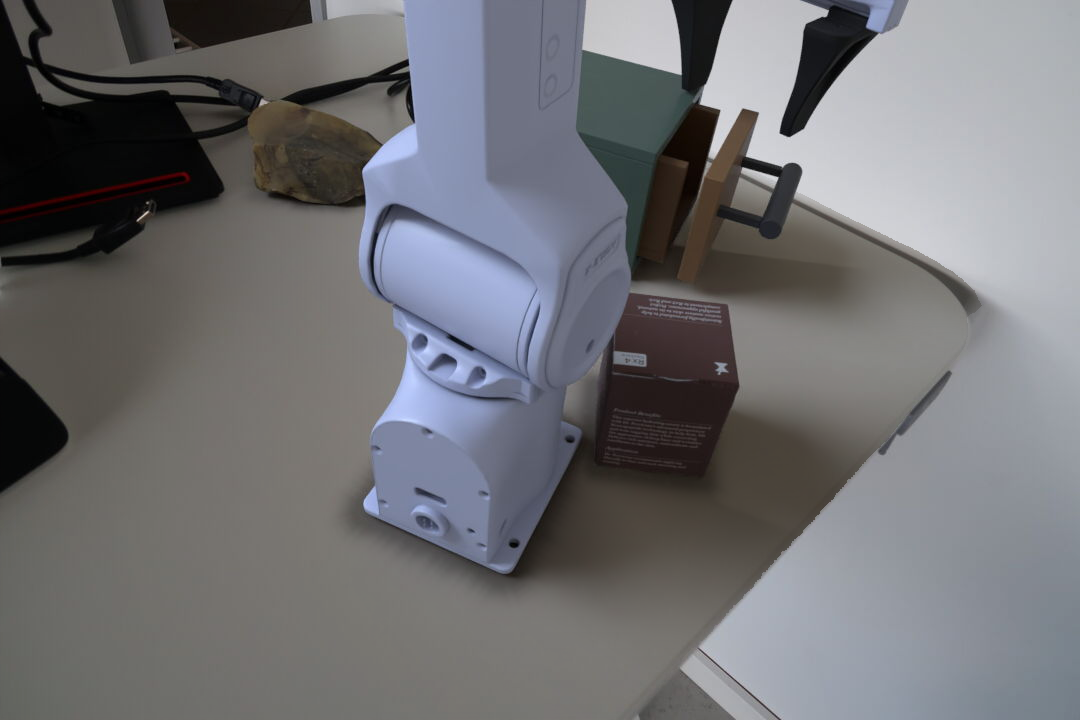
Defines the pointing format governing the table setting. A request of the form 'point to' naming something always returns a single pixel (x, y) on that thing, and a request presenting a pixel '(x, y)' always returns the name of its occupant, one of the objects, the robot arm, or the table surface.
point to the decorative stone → (308, 153)
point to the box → (665, 386)
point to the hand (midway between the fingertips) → (740, 107)
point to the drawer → (709, 189)
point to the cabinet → (630, 127)
